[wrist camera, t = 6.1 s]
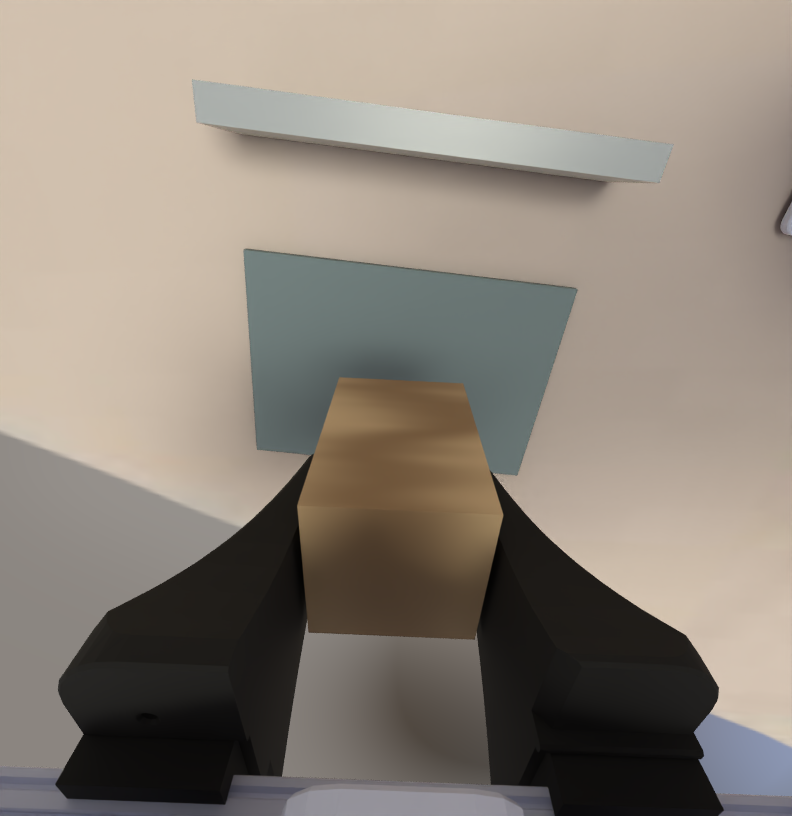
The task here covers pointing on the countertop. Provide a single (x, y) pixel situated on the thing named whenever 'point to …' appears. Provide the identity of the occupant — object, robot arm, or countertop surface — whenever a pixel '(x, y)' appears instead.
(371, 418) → the oak block
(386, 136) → the low wall
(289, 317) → the mat
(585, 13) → the countertop surface
